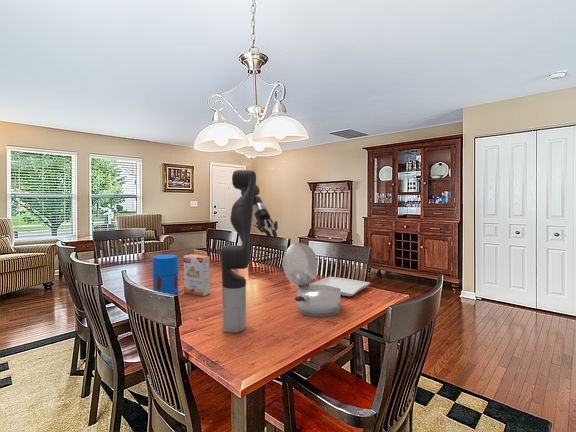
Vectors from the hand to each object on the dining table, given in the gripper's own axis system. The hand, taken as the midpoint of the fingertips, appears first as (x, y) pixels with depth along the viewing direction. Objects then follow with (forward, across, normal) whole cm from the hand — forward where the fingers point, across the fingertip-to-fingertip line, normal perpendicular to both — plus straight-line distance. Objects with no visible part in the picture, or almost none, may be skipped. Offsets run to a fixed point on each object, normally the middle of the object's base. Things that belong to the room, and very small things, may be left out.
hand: (273, 237), depth 164 cm
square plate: (+30, +40, +16) cm, 52 cm away
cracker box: (+1, -30, +44) cm, 53 cm away
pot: (+42, +8, +4) cm, 42 cm away
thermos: (+13, -50, +33) cm, 61 cm away
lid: (+19, +8, -1) cm, 21 cm away
